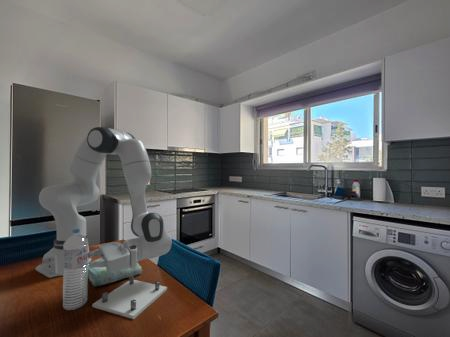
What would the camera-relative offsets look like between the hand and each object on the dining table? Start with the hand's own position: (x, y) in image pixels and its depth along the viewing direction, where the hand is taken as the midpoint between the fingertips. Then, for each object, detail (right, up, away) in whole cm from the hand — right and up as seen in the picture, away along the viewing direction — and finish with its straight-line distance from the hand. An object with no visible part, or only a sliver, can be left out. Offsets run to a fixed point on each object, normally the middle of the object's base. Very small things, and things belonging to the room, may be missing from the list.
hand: (87, 260), depth 73 cm
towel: (-2, -15, +20) cm, 25 cm away
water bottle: (-3, -14, -2) cm, 15 cm away
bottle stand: (+15, -14, +2) cm, 20 cm away
